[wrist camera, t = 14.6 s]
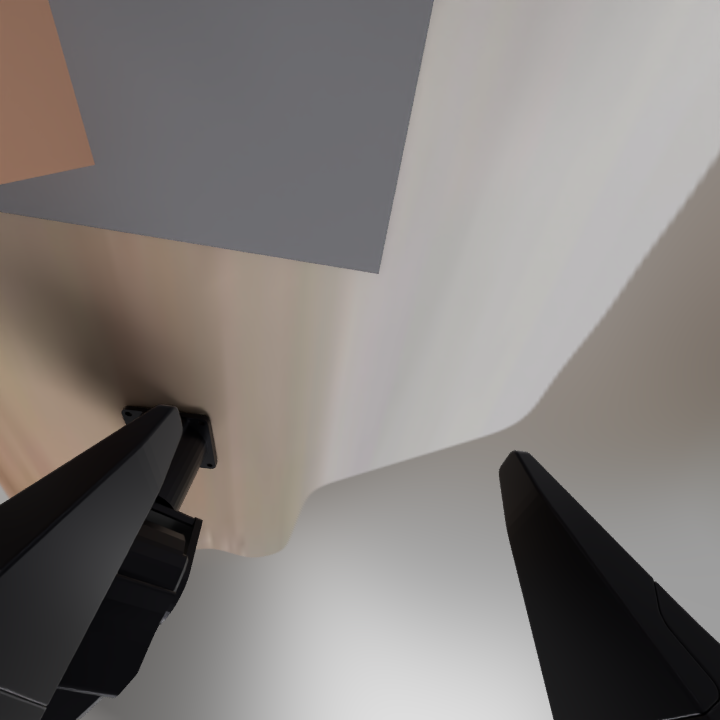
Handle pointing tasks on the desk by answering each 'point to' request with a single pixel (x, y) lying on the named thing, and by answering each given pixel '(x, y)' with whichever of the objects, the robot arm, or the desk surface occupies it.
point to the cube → (36, 97)
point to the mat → (238, 123)
